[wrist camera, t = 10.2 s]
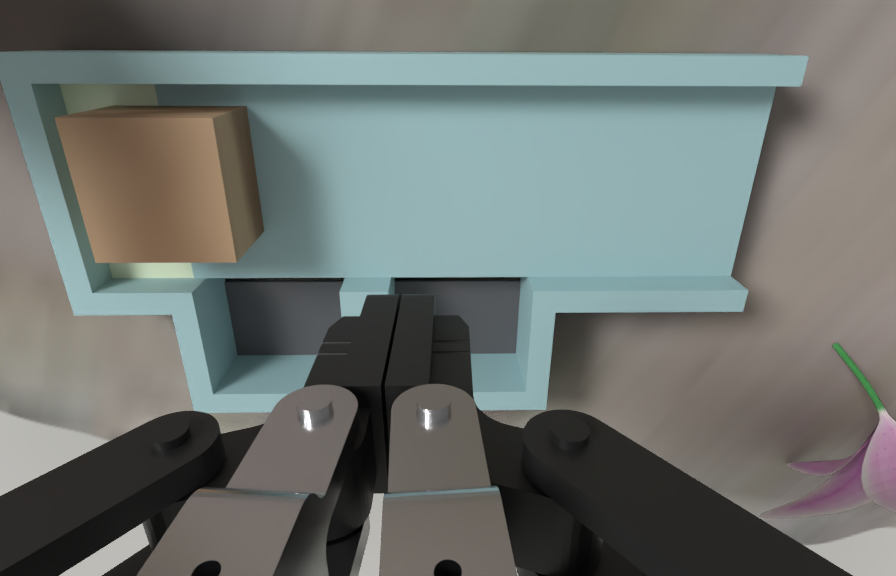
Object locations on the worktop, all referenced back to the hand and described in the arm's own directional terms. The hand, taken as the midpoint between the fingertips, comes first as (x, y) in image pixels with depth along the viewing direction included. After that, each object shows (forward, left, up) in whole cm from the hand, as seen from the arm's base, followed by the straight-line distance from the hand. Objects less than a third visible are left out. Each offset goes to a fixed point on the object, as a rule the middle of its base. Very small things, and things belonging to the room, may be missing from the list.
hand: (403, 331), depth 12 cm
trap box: (0, +2, -13) cm, 13 cm away
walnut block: (+9, -1, -11) cm, 14 cm away
